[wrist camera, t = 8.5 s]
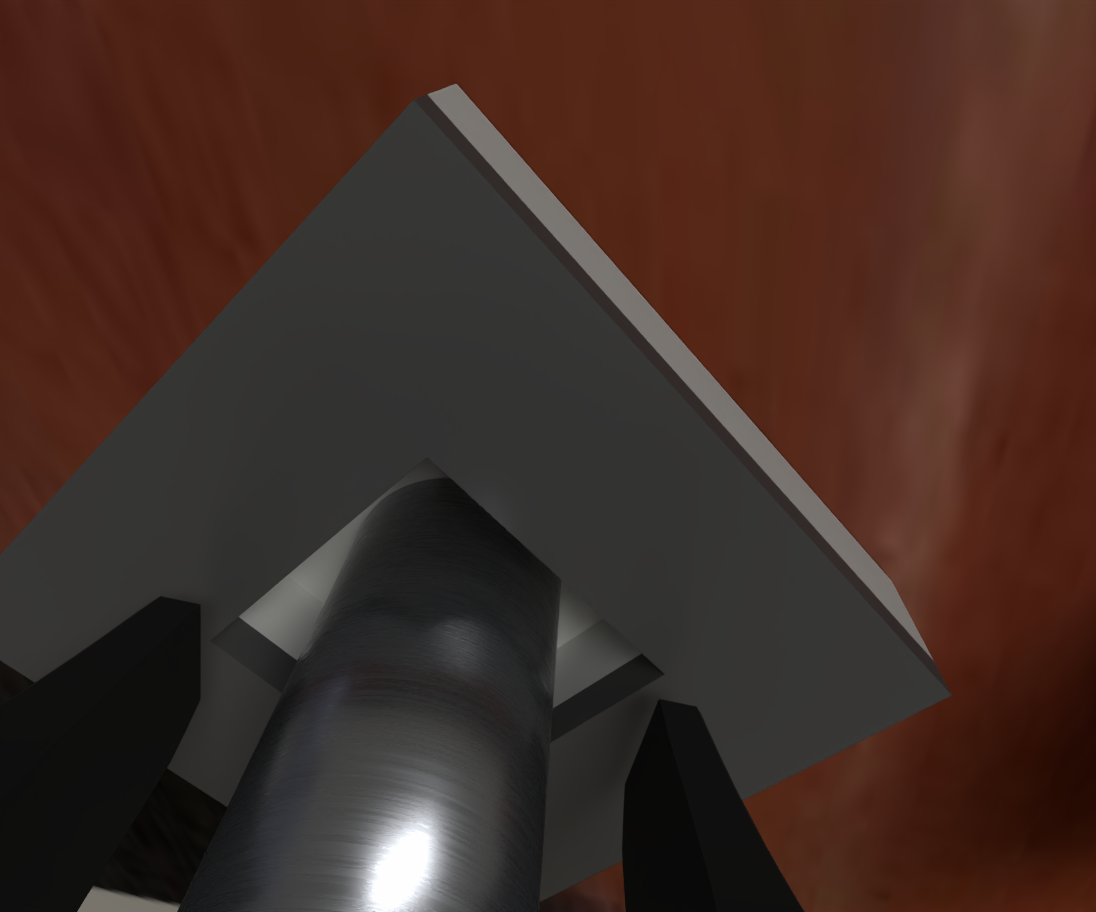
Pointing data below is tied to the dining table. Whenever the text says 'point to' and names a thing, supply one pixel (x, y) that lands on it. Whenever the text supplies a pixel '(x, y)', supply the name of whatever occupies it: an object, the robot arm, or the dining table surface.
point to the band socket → (474, 489)
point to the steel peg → (404, 730)
